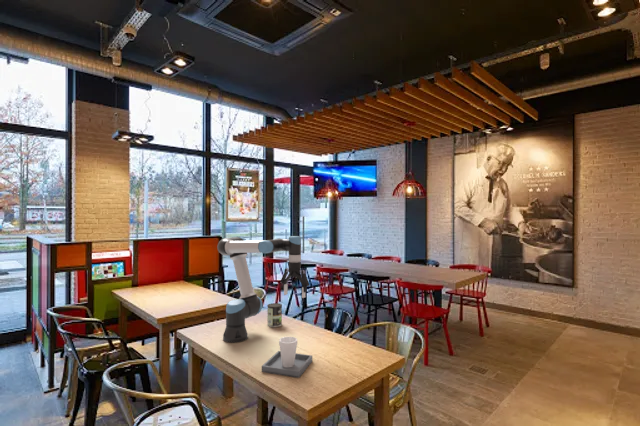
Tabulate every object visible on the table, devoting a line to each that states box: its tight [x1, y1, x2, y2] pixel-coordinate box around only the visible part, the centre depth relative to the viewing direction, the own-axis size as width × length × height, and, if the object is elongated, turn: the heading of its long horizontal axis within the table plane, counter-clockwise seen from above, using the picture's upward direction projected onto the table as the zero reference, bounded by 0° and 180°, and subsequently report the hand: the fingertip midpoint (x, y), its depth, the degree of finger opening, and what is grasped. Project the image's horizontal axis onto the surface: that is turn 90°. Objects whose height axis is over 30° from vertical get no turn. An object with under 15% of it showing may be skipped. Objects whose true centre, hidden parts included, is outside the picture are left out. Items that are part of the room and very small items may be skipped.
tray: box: [261, 350, 313, 379], centre depth 181 cm, size 20×20×3 cm
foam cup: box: [278, 336, 298, 367], centre depth 181 cm, size 10×9×13 cm
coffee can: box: [266, 302, 283, 328], centre depth 247 cm, size 10×10×14 cm
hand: (294, 296), depth 213 cm, fingers open, 13 cm apart
